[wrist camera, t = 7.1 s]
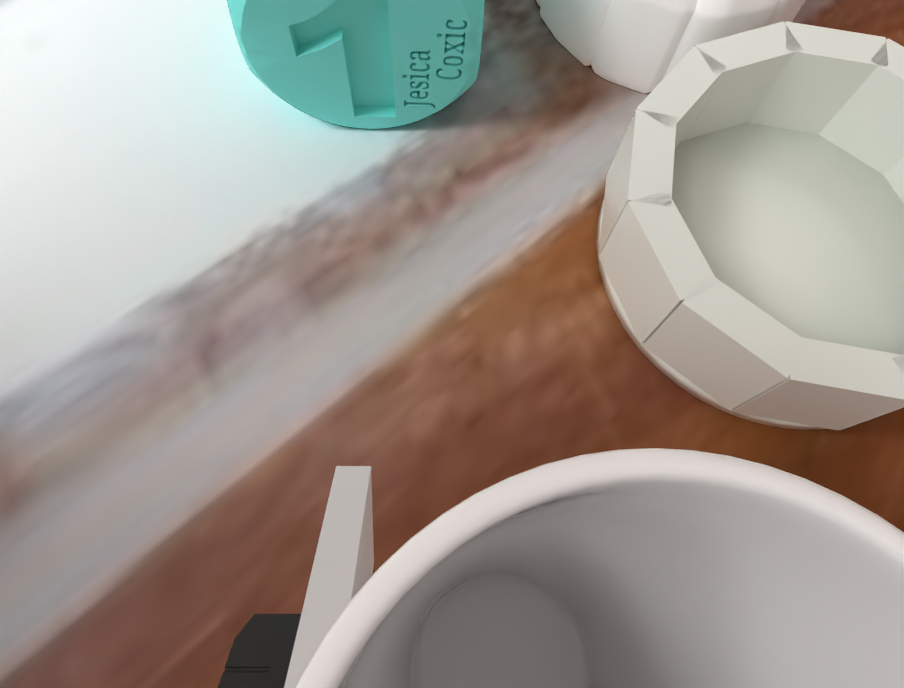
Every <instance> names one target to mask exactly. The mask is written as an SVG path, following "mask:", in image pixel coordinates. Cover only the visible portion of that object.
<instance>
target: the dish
mask: <svg viewBox="0 0 904 688" xmlns="http://www.w3.org/2000/svg"><path fill="white" fill-rule="evenodd" d="M596 247H597V256H598V265H599V270H600V274H601V278H602V282H603V285H604V289H605V291H606V294H607V296H608V299H609V301H610V303H611V306H612V308H613V310H614V312H615V314H616V316H617V317H618V319H619V321H620V323H621V324H622V326H623V328H624V330H625V331H626V332H627V334H628V335H629V337H630V338H631V339H632V341H633V342H634V343H635V345H636V346H637V347H638V349H639V350H640V351H641V352H642V353H643V354H644V355H645V356H646V357H647V358H648V359H649V360H650V362H651V363H652V364H653V365H654V366H655V367H656V368H657V369H658V370H660V371H661V372H662V373H663V374H664V375H666V376H667V377H668V378H669V379H670V380H671V381H673V382H674V383H675V384H676V385H678V386H679V387H681V388H682V389H684V390H685V391H687V392H688V393H690V394H691V395H693V396H694V397H696V398H697V399H699V400H701V401H703V402H705V403H707V404H709V405H711V406H713V407H715V408H717V409H719V410H720V411H723V412H725V413H728V414H731V415H733V416H736V417H739V418H741V419H744V420H747V421H751V422H755V423H759V424H763V425H767V426H771V427H779V428H788V429H797V430H808V429H832V430H843V429H846V428H848V427H851V426H854V425H857V424H859V423H862V422H865V421H868V420H870V419H873V418H876V417H879V416H882V415H884V414H887V413H890V412H893V411H895V410H898V409H901V408H904V47H903V46H901V45H899V44H897V43H896V42H894V41H892V40H890V39H889V38H888V39H887V40H886V37H881V36H874V35H868V34H862V33H856V32H850V31H843V30H837V29H831V28H825V27H819V26H812V25H806V24H800V23H794V22H788V21H786V22H785V23H784V21H783V22H779V23H775V24H772V25H768V26H764V27H761V28H757V29H753V30H749V31H746V32H742V33H738V34H735V35H731V36H727V37H723V38H720V39H716V40H712V41H709V42H705V43H701V44H698V45H695V46H693V48H692V49H691V50H690V51H689V52H688V53H687V54H686V55H685V56H684V57H683V58H682V59H681V60H680V62H679V63H678V64H677V65H676V66H675V67H674V68H673V69H672V70H671V71H670V72H669V73H668V74H667V76H666V77H665V78H664V79H663V80H662V81H661V82H660V83H659V84H658V85H657V86H656V87H655V88H654V90H653V91H652V92H651V93H650V94H649V95H648V96H647V97H646V98H645V99H644V100H643V101H642V102H641V104H640V105H639V106H638V107H637V108H636V110H635V113H634V115H633V117H632V120H631V122H630V124H629V126H628V129H627V131H626V133H625V135H624V138H623V140H622V142H621V144H620V147H619V149H618V151H617V153H616V156H615V158H614V160H613V162H612V165H611V167H610V169H609V172H608V174H607V178H606V188H605V196H604V199H603V202H602V205H601V208H600V213H599V218H598V224H597V242H596Z"/></svg>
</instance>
